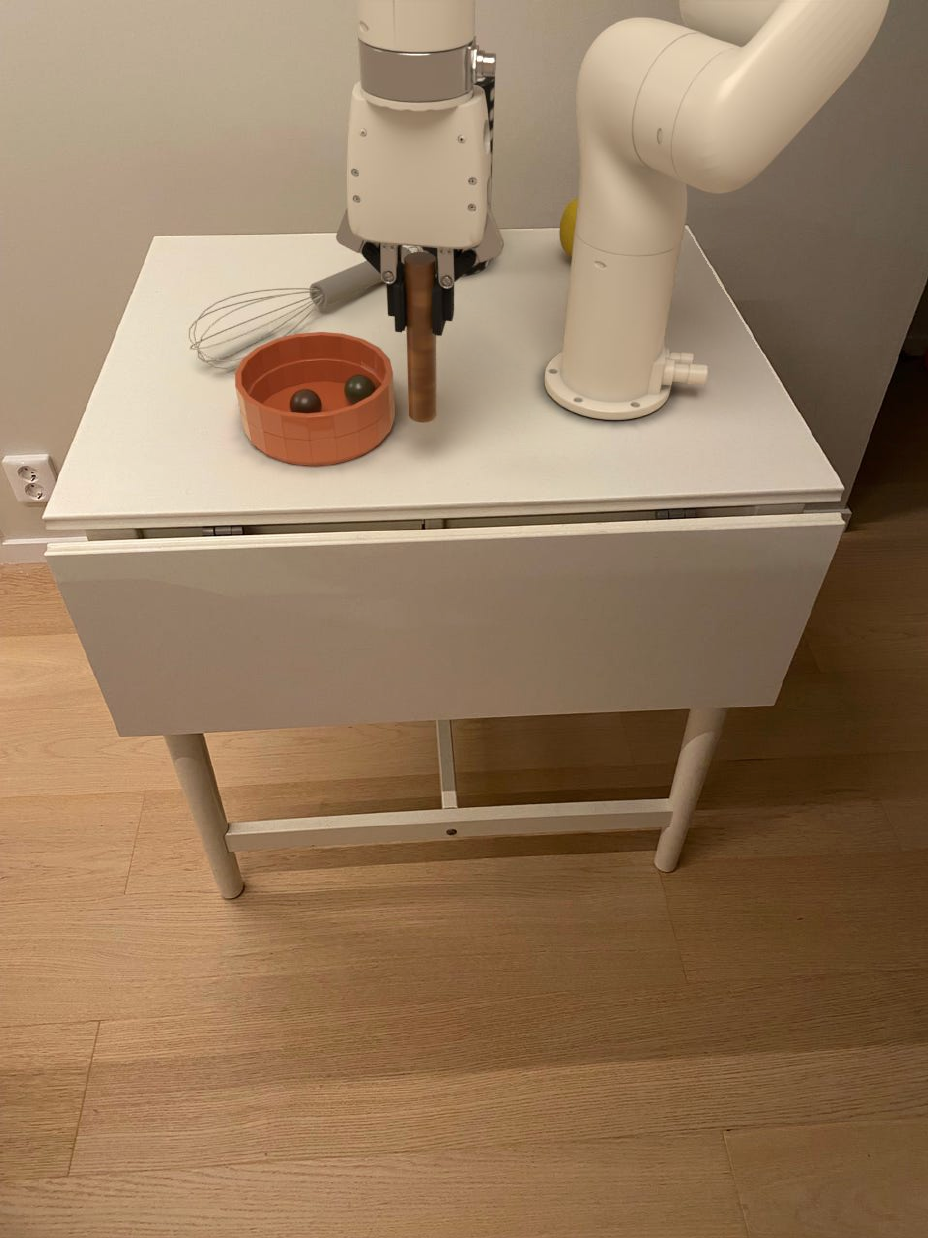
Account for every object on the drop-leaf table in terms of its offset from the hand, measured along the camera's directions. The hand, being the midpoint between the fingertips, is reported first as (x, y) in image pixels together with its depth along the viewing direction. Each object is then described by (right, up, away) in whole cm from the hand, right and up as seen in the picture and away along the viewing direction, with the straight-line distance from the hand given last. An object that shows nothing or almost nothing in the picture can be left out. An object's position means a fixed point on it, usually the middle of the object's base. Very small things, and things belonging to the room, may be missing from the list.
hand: (421, 323), depth 74 cm
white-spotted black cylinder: (+2, +20, +38) cm, 43 cm away
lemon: (+17, +19, +38) cm, 46 cm away
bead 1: (-11, -4, +12) cm, 17 cm away
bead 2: (-7, -2, +14) cm, 16 cm away
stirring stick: (0, -6, +6) cm, 9 cm away
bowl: (-10, -5, +14) cm, 18 cm away
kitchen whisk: (-13, +10, +28) cm, 33 cm away
